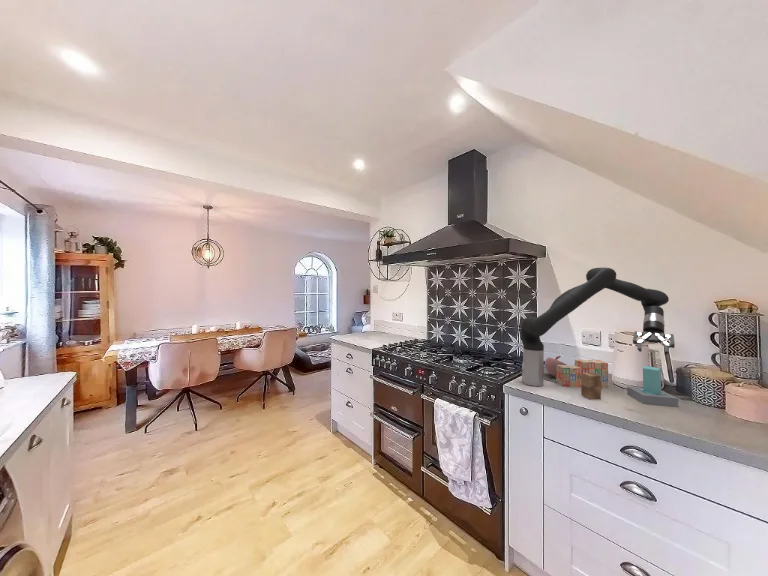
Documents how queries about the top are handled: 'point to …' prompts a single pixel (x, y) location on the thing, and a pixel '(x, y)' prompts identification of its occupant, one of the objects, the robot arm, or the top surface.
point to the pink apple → (552, 365)
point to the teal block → (652, 380)
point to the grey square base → (652, 397)
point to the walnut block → (591, 385)
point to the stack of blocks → (572, 373)
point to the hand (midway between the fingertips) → (652, 352)
